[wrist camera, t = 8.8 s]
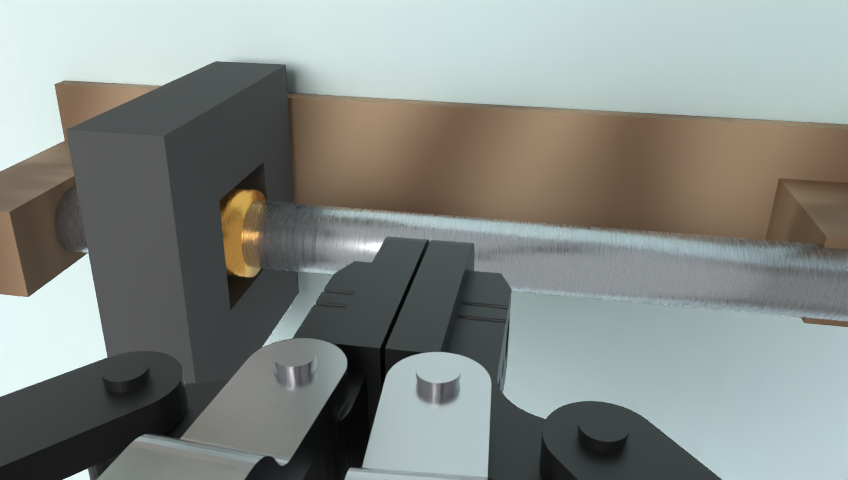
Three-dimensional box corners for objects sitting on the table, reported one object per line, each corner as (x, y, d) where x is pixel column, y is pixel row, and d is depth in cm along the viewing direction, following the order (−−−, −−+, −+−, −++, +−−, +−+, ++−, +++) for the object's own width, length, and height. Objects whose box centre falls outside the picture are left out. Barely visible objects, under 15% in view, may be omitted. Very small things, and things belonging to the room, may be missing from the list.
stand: (894, 127, 23) (1044, 226, 16) (846, 297, 26) (958, 449, 19) (64, 80, 27) (-114, 143, 20) (91, 232, 30) (-58, 337, 22)
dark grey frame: (285, 64, 25) (163, 136, 17) (298, 292, 28) (202, 435, 20) (216, 61, 25) (65, 130, 17) (237, 286, 28) (120, 425, 21)
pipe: (876, 223, 21) (917, 263, 18) (853, 306, 22) (888, 354, 19) (42, 162, 24) (-13, 189, 22) (57, 236, 25) (6, 269, 23)
